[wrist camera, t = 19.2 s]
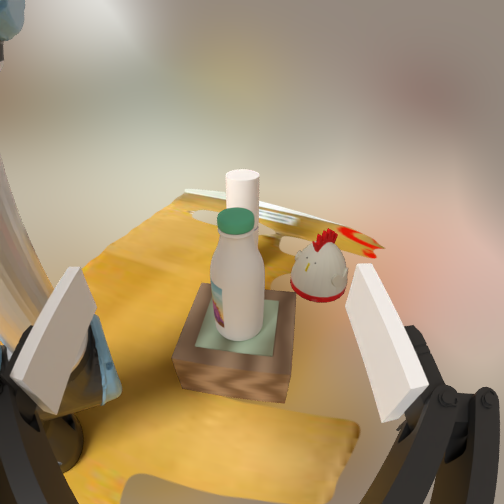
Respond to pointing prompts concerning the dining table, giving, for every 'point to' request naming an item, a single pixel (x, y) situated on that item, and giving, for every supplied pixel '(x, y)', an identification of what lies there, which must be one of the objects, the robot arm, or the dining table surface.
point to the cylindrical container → (244, 193)
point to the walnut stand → (238, 351)
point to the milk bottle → (237, 277)
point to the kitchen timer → (320, 270)
